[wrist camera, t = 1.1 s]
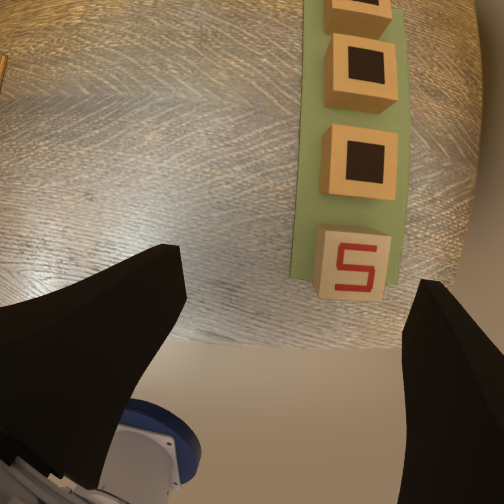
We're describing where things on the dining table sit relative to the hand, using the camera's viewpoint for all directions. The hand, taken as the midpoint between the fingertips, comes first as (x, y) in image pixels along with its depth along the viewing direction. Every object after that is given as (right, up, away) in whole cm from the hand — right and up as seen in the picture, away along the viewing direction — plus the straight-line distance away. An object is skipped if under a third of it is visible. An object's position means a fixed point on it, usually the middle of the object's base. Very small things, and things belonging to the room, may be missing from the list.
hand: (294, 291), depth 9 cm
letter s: (+5, +1, +12) cm, 13 cm away
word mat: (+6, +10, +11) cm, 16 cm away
